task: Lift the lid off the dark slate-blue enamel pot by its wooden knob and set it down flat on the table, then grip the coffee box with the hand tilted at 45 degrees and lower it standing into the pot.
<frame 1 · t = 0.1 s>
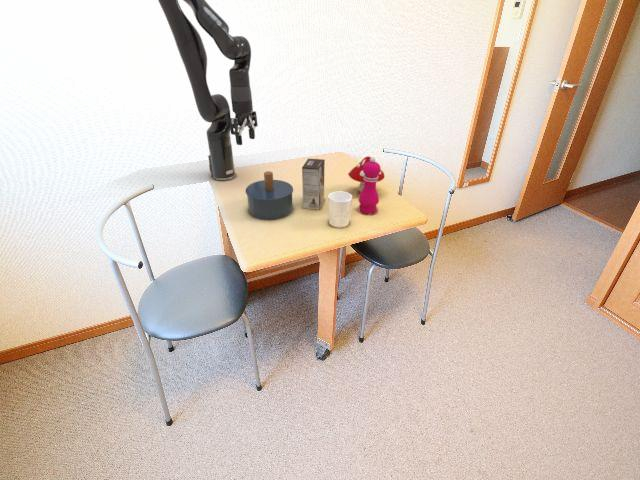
hand: (246, 141, 140), 17 cm above the table, tool pointing down, fingers open, 8 cm apart
pot: (270, 209, 129), on the table
pepper mill: (367, 210, 129), on the table
pot lid: (269, 190, 125), point 7 cm above the table, touching pot
white cup: (338, 223, 121), on the table
coffee box: (313, 204, 133), on the table
decorative mushroom: (364, 192, 142), on the table
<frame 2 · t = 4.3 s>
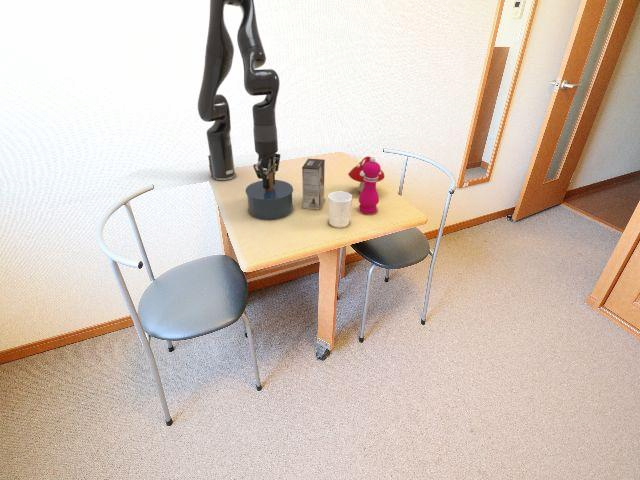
hand: (269, 186, 124), 9 cm above the table, tool pointing down, fingers closed on pot lid, 3 cm apart
pot lid: (269, 190, 125), point 7 cm above the table, touching gripper, pot
everything else where it was.
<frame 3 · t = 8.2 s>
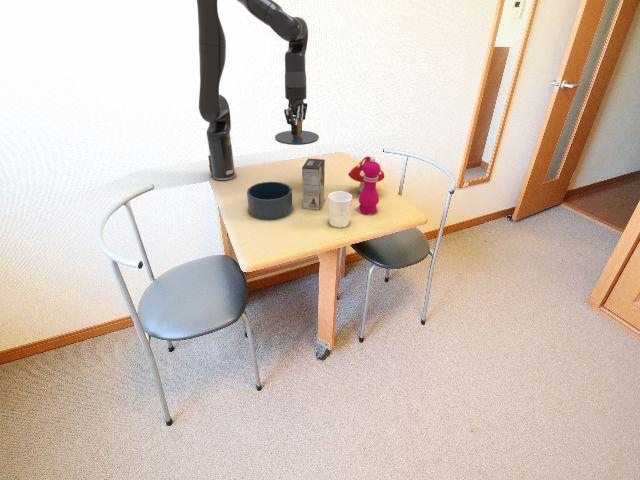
hand: (296, 133, 133), 22 cm above the table, tool pointing down, fingers closed on pot lid, 3 cm apart
pot lid: (296, 138, 134), point 20 cm above the table, touching gripper
everything else where it was.
when the fingers open (2 cm above the table, at t = 12.0 s): pot lid stays where it is, point 1 cm above the table.
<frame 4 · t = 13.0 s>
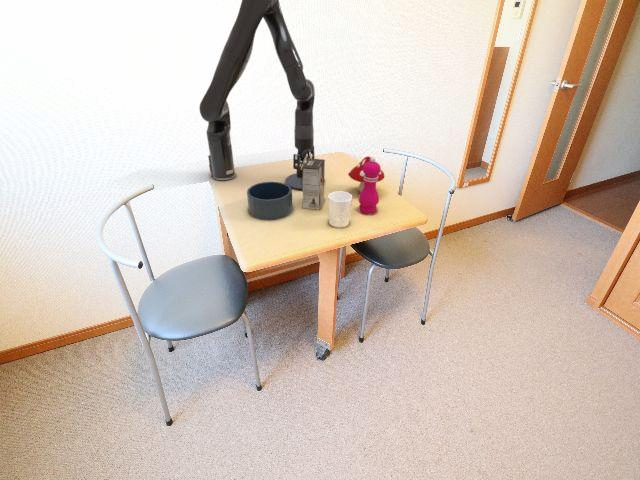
hand: (304, 174, 147), 4 cm above the table, tool pointing down, fingers open, 8 cm apart
pot lid: (305, 181, 149), point 1 cm above the table
everything else where it was.
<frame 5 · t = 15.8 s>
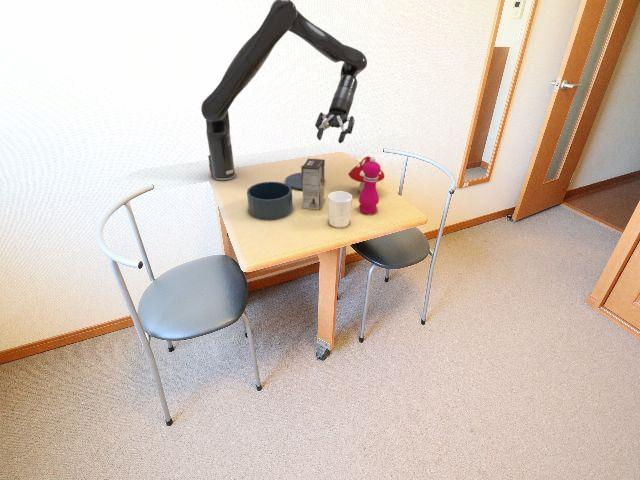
hand: (329, 140, 132), 20 cm above the table, tool tilted 45°, fingers open, 8 cm apart
nothing on the table moved.
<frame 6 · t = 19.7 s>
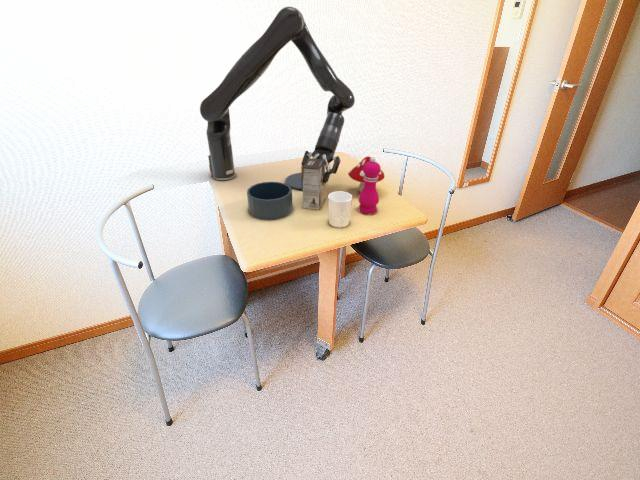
hand: (314, 180, 129), 9 cm above the table, tool tilted 45°, fingers closed on coffee box, 7 cm apart
coffee box: (313, 204, 133), on the table, touching gripper
everything else where it was.
when the fingers open (9 cm above the table, at t = 29.3 s): coffee box stays where it is, resting on pot.
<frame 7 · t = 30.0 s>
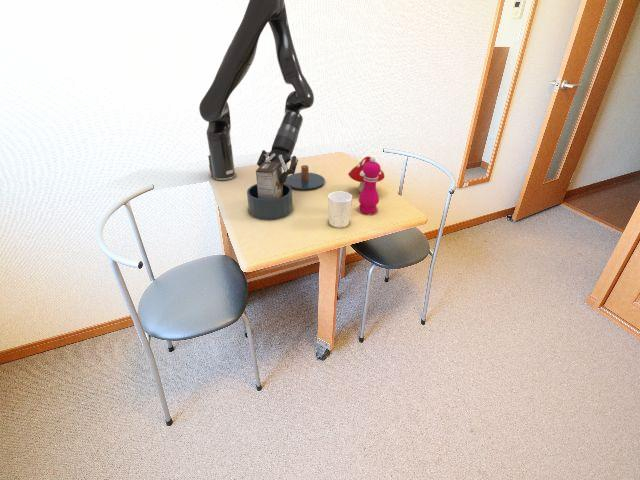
hand: (270, 181, 124), 11 cm above the table, tool tilted 45°, fingers open, 8 cm apart
coffee box: (272, 208, 129), resting on pot
everything else where it was.
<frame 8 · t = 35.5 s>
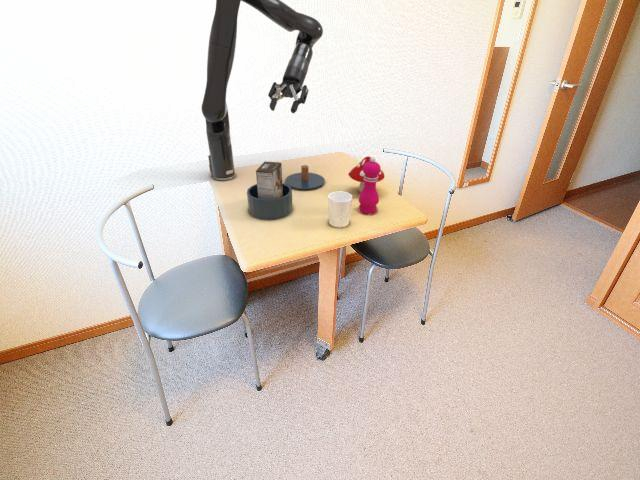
hand: (281, 110, 127), 31 cm above the table, tool tilted 45°, fingers open, 8 cm apart
nothing on the table moved.
at the end: pot lid inside the target area (0.1 cm from its centre), point 0.6 cm above the table; coffee box inside the target area in the pot (0.4 cm from its centre), point 0.3 cm above the pot's base; coffee box tilted 0° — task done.
